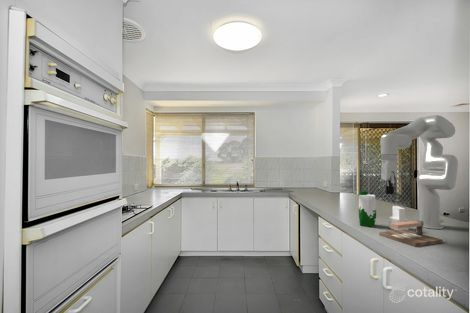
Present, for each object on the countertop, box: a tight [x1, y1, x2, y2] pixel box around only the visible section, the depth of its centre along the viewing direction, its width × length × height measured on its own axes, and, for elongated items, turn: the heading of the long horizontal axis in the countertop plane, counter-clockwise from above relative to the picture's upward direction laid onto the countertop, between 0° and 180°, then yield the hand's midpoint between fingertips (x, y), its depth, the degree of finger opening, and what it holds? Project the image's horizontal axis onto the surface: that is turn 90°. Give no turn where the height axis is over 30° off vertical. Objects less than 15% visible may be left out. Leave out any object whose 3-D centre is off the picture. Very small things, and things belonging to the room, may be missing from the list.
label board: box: [378, 226, 444, 248], centre depth 120 cm, size 18×18×6 cm
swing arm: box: [390, 220, 424, 229], centre depth 120 cm, size 19×4×2 cm, turn 109°
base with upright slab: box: [388, 205, 410, 231], centre depth 138 cm, size 9×9×12 cm
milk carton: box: [358, 190, 377, 228], centre depth 145 cm, size 9×9×20 cm
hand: (389, 193), depth 126 cm, fingers closed
